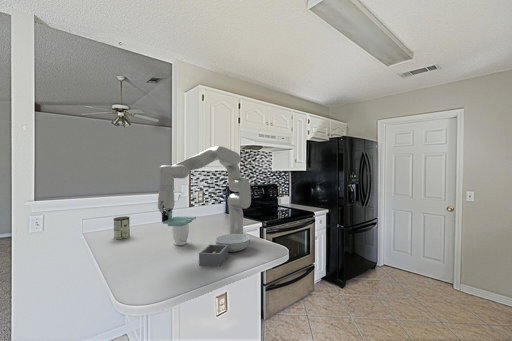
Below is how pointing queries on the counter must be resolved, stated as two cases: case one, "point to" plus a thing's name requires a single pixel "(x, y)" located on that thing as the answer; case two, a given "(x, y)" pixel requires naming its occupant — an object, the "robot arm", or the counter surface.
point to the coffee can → (121, 227)
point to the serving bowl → (233, 241)
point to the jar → (180, 234)
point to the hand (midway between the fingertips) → (167, 221)
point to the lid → (177, 220)
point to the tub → (213, 255)
